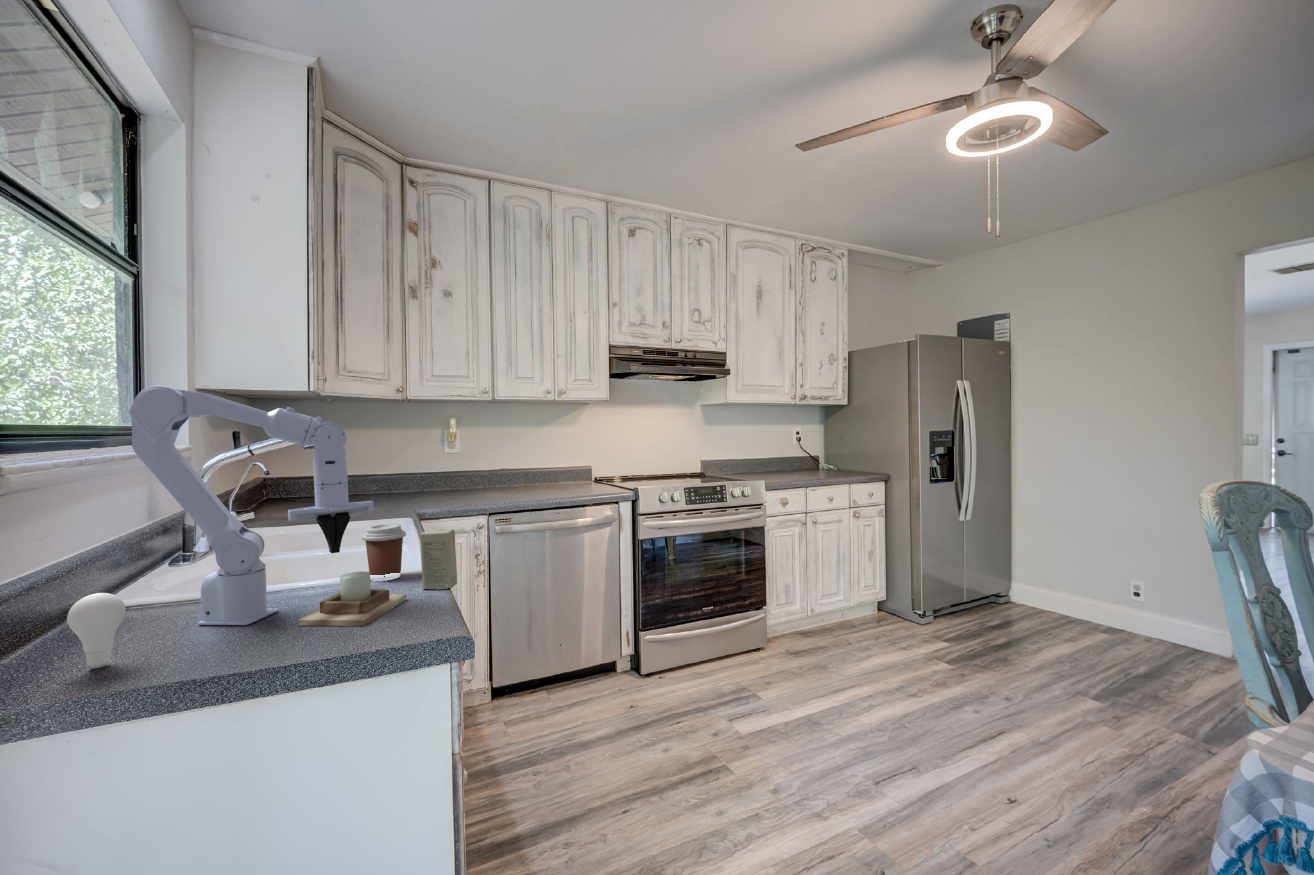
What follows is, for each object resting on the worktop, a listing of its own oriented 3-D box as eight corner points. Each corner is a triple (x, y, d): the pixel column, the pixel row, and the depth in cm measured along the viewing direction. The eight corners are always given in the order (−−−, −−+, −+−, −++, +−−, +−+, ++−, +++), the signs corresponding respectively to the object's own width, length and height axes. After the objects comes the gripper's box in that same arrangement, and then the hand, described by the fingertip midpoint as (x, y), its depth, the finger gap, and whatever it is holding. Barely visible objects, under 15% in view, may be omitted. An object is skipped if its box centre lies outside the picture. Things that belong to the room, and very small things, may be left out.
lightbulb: (57, 675, 81) (54, 599, 81) (105, 657, 87) (102, 586, 87) (92, 677, 80) (89, 600, 80) (138, 659, 86) (135, 588, 86)
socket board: (298, 625, 100) (297, 608, 100) (349, 599, 115) (348, 584, 115) (363, 625, 99) (363, 609, 99) (406, 599, 114) (406, 584, 114)
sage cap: (335, 610, 105) (334, 578, 104) (351, 602, 110) (350, 571, 109) (360, 611, 104) (359, 578, 104) (376, 602, 109) (375, 571, 109)
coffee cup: (405, 581, 128) (404, 528, 127) (360, 585, 125) (358, 531, 124) (408, 571, 136) (406, 521, 136) (366, 575, 133) (364, 524, 133)
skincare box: (457, 583, 125) (456, 528, 124) (451, 589, 120) (449, 532, 120) (428, 584, 125) (426, 529, 124) (420, 590, 120) (419, 533, 120)
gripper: (291, 488, 103) (295, 562, 104) (376, 481, 113) (380, 548, 113) (284, 486, 108) (288, 556, 109) (367, 478, 118) (370, 543, 118)
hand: (334, 552), depth 111 cm, fingers closed
